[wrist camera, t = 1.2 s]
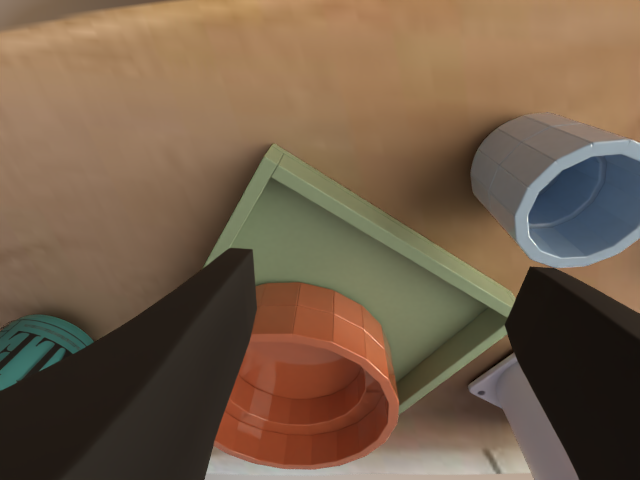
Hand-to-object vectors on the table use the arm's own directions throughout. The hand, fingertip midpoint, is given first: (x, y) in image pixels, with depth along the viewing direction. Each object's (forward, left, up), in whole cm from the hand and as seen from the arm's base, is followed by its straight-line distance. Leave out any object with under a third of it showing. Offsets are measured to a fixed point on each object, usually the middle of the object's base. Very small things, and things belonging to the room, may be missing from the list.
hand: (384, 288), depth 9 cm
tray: (-4, +11, -10) cm, 15 cm away
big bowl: (-4, +13, -10) cm, 17 cm away
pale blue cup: (-6, -5, -10) cm, 12 cm away
